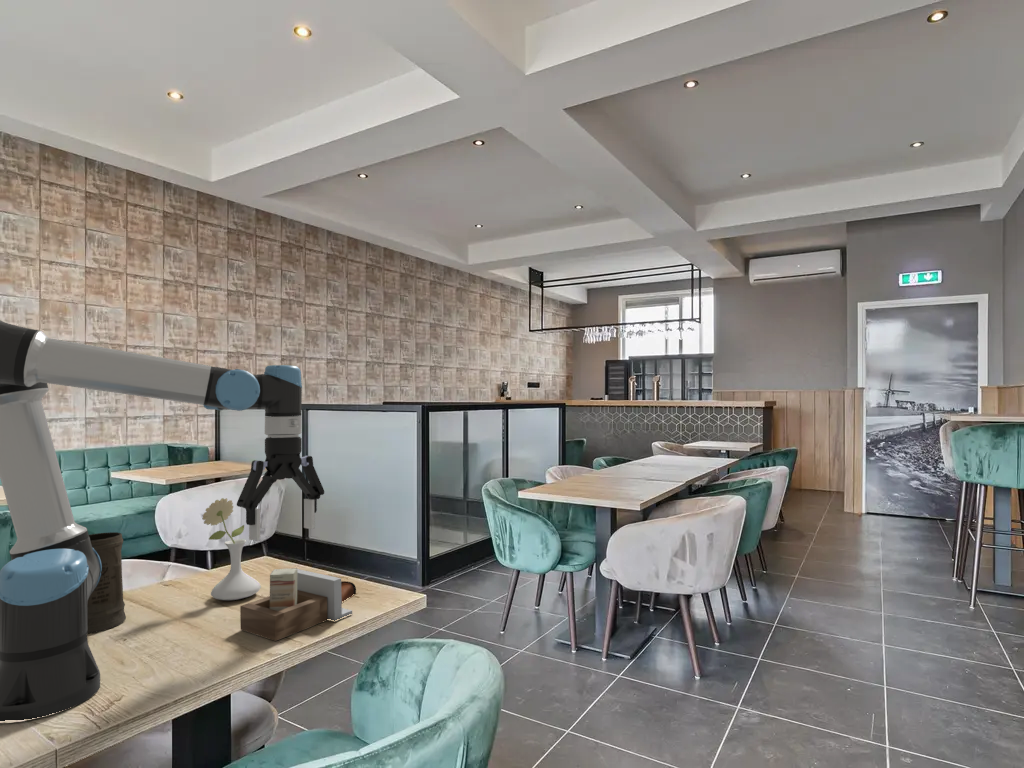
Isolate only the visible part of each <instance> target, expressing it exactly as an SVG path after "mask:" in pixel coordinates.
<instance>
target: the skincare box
mask: <svg viewBox="0 0 1024 768" xmlns="http://www.w3.org/2000/svg"><path fill="white" fill-rule="evenodd" d="M297 569H298V568H297V567H296V568H295V567H293V568H279V569H278V568H277V569H275V568H274V569H273V570H272V571H271V573H270V574H269V596H270V609H272V610H275V611H280V610H282V609H285V608H288V607H291V606H294V605H296V604H297Z"/></svg>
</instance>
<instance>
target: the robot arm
mask: <svg viewBox="0 0 1024 768" xmlns="http://www.w3.org/2000/svg"><path fill="white" fill-rule="evenodd" d="M48 384H49V385H50V384H51V385H56V386H65V387H71V388H77V389H87V390H94V391H100V392H107V393H114V394H121V395H129V396H136V397H141V398H142V397H143V398H150V399H158V400H165V401H173V402H180V403H186V404H192V405H193V404H194V405H201V406H203V407H204V408H205V409H206V410H217V411H226V410H232V411H239V412H240V411H241V412H242V411H245V410H264V435H266V436H267V437H265V439H264V454H265V461H263V460H257V459H256V460H255V459H254V460H252V461H251V466H250V472H249V473H248V477H247V479H246V481H245V484H244V486H243V488H242V489H241V492H240V494H239V497H238V499H237V502H236V507H239V508H243V509H245V523H246V525H248V532H249V534H248V537H249V538H248V540H249V541H254V542H259V541H260V542H261V508H258V506H259V505H260V503H261V502H262V500H263V499H264V497H265V496H266V494H267V493H268V491H270V489H271V487H272V486H273V484H274V483H276V482H277V480H278V481H279V480H280V481H281V480H285V479H290V480H291V479H292V480H293V481H294V483H295V484H296V485H297V486H298V488H299V489H300V490H301V491H302V493H304V495H305V496H306V497H307V498H303V528H304V529H308V530H313V529H315V514H316V513H317V510H318V508H317V504H318V503H317V502H318V501H317V500H319V499H320V498H321V496H324V494H325V490H324V487H323V484H322V482H321V480H320V478H319V475H318V472H317V471H316V468H315V466H314V459H313V458H314V457H313V456H311V455H302V456H301V453H302V448H303V447H302V446H303V444H302V438H301V436H300V435H301V434H302V403H303V402H302V401H303V400H302V398H303V397H302V396H303V395H302V393H303V385H302V371H301V369H300V367H298V366H297V365H289V364H287V365H286V364H283V365H282V364H278V365H277V364H275V365H273V364H272V365H271V364H270V365H267V366H265V367H264V372H263V373H261V374H259V373H258V374H253V373H251V372H249V371H248V370H245V369H238V368H236V369H235V368H234V369H232V368H226V367H225V368H224V367H219V366H211V365H206V364H202V363H195V362H189V361H184V360H179V359H178V360H177V359H173V358H167V357H162V356H160V357H159V356H155V355H148V354H145V353H144V354H143V353H137V352H132V351H125V350H121V349H115V348H109V347H103V346H97V345H92V344H85V343H79V342H74V341H73V342H72V341H67V340H63V339H62V340H61V339H58V338H57V339H56V338H51V337H48V335H47V334H46V333H45V332H44V331H42V330H40V329H34V328H28V327H24V326H20V325H15V324H11V323H8V322H5V321H3V320H0V481H1V482H0V483H1V485H2V489H3V493H4V496H5V500H6V504H7V507H8V510H9V514H10V518H11V521H12V524H13V528H14V531H15V535H16V541H15V543H14V545H13V546H12V547H11V548H10V550H9V555H10V558H11V560H10V561H8V562H7V563H6V564H4V565H3V566H2V568H1V569H0V721H5V720H24V719H32V718H37V717H42V716H46V715H49V714H52V713H56V712H59V711H62V710H65V709H67V710H69V709H68V708H70V707H72V708H74V707H76V706H78V705H80V704H82V703H84V702H86V701H87V700H89V699H91V698H92V697H93V696H94V695H95V694H97V692H98V691H99V690H100V688H101V671H100V668H99V667H98V666H99V665H98V664H97V662H96V660H95V657H94V654H93V653H92V650H91V648H90V645H89V641H88V633H87V630H88V627H87V603H88V599H89V597H90V595H91V594H92V592H93V591H94V589H95V587H96V586H97V584H98V582H99V579H100V576H101V571H102V566H101V560H100V557H99V555H98V554H97V552H96V551H95V550H94V548H93V547H92V545H91V541H90V538H89V535H90V534H89V531H88V528H87V527H85V526H83V525H81V524H78V523H77V522H76V521H75V518H74V514H73V511H72V507H71V504H70V500H69V497H68V493H67V489H66V485H65V482H64V477H63V474H62V470H61V468H60V464H59V460H58V456H57V452H56V449H55V446H54V442H53V439H52V435H51V431H50V428H49V427H50V426H49V423H48V420H47V416H46V413H45V412H46V411H45V409H44V406H43V402H42V400H43V398H44V397H45V395H46V394H47V393H48V392H49V390H50V389H49V386H48ZM300 466H302V469H303V471H301V469H300ZM265 470H266V471H265ZM264 471H265V473H264V475H263V472H264ZM303 472H304V473H303ZM304 475H305V476H306V477H305V476H304ZM261 478H262V479H261ZM306 478H307V479H306ZM260 480H261V481H260ZM73 706H74V707H73ZM70 709H71V708H70ZM65 711H66V710H65ZM62 712H63V711H62ZM59 713H60V712H59Z"/></svg>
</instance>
